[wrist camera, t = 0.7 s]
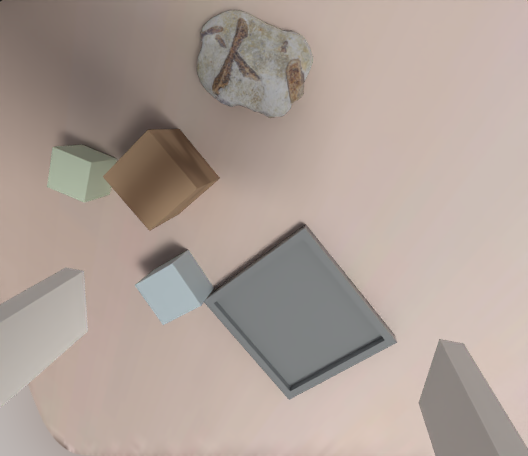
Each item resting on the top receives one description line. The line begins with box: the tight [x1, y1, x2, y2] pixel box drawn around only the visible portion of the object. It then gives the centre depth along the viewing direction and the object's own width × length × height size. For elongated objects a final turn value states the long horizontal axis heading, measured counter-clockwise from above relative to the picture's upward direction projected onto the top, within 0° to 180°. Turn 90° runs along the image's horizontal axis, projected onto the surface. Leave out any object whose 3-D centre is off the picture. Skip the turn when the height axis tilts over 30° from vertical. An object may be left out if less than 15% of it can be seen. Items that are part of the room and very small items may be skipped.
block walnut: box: [103, 129, 220, 231], centre depth 31 cm, size 6×6×6 cm
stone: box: [197, 10, 313, 118], centre depth 28 cm, size 10×7×3 cm
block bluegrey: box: [135, 250, 214, 325], centre depth 35 cm, size 5×5×4 cm
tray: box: [204, 225, 397, 399], centre depth 35 cm, size 15×14×1 cm
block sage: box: [47, 145, 117, 202], centre depth 34 cm, size 4×4×4 cm
